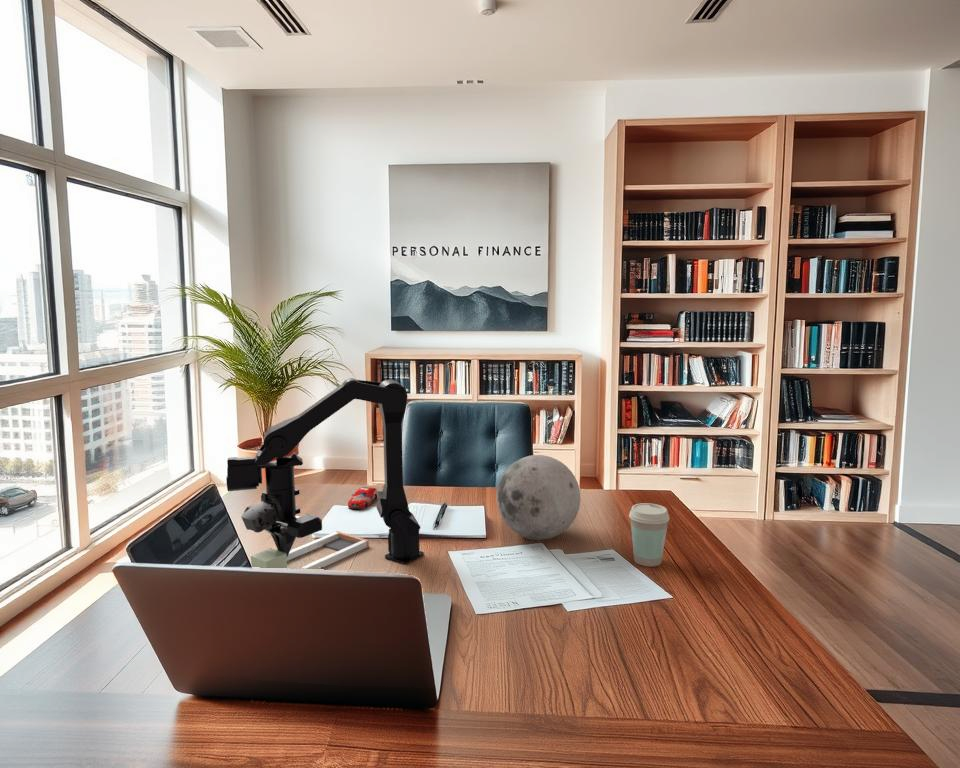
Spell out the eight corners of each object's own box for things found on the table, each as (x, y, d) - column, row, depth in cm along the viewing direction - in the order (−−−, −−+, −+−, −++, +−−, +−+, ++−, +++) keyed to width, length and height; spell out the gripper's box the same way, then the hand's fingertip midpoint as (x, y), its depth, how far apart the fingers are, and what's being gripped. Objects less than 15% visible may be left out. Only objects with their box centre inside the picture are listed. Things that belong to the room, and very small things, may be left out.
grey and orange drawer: (368, 546, 150) (368, 540, 150) (350, 554, 145) (350, 548, 145) (337, 537, 156) (337, 531, 155) (319, 544, 151) (319, 538, 151)
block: (287, 576, 134) (286, 553, 133) (267, 585, 130) (265, 561, 129) (272, 570, 137) (271, 548, 136) (252, 578, 133) (250, 555, 132)
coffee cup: (669, 570, 136) (671, 516, 134) (628, 567, 138) (629, 513, 136) (666, 554, 144) (668, 503, 142) (627, 552, 146) (628, 501, 144)
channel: (366, 547, 149) (366, 541, 149) (305, 575, 134) (305, 568, 134) (335, 538, 155) (335, 532, 155) (273, 564, 140) (273, 557, 140)
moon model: (577, 523, 164) (578, 447, 161) (582, 554, 144) (583, 468, 142) (499, 521, 166) (499, 445, 163) (493, 551, 146) (493, 466, 144)
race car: (363, 512, 174) (363, 498, 174) (345, 511, 175) (344, 496, 175) (380, 496, 187) (380, 483, 187) (363, 495, 188) (362, 482, 188)
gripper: (219, 488, 133) (223, 560, 135) (277, 505, 122) (281, 582, 124) (264, 475, 142) (268, 543, 144) (322, 490, 131) (325, 562, 133)
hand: (284, 557), depth 136 cm, fingers closed, pressing on block
